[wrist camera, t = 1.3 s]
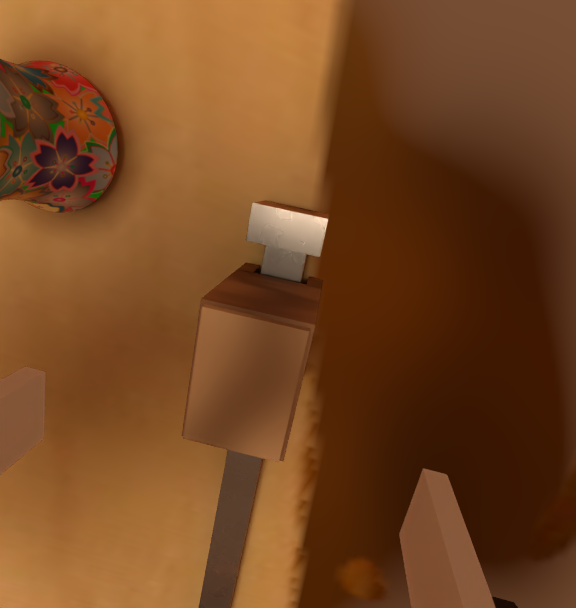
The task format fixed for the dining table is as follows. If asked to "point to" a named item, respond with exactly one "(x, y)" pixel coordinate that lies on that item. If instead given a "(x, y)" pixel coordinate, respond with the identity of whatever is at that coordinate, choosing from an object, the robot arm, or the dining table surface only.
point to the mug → (53, 137)
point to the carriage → (250, 362)
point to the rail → (241, 467)
